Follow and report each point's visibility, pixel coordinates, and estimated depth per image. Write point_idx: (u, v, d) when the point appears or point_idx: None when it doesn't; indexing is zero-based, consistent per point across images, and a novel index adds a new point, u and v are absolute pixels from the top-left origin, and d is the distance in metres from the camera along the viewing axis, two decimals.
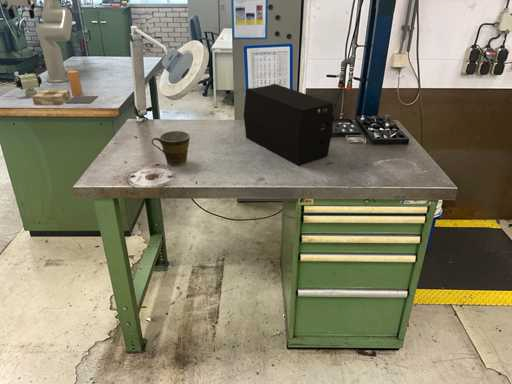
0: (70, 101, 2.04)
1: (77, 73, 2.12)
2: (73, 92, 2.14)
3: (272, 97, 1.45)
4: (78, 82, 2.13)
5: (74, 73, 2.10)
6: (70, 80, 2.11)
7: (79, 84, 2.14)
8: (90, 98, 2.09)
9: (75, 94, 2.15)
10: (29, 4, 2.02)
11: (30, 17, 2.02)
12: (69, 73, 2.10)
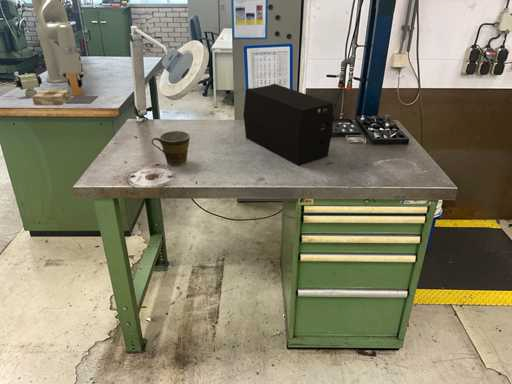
0: (70, 101, 2.04)
1: None
2: (73, 92, 2.14)
3: (272, 97, 1.45)
4: None
5: (74, 73, 2.10)
6: (70, 80, 2.11)
7: None
8: (90, 98, 2.09)
9: (75, 94, 2.15)
10: None
11: None
12: (69, 73, 2.10)
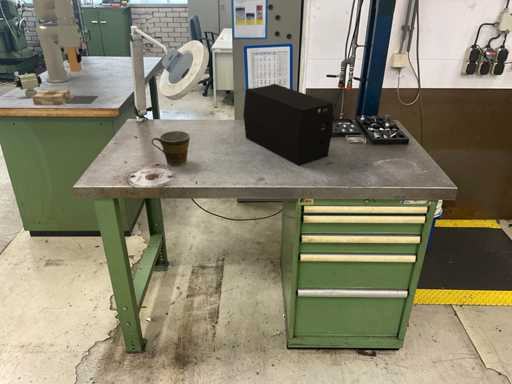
0: (70, 101, 2.04)
1: None
2: (72, 68, 1.99)
3: (272, 97, 1.45)
4: (76, 56, 1.97)
5: (73, 47, 1.94)
6: (68, 54, 1.95)
7: None
8: (90, 98, 2.09)
9: (74, 70, 1.99)
10: (78, 47, 1.97)
11: None
12: (67, 47, 1.94)
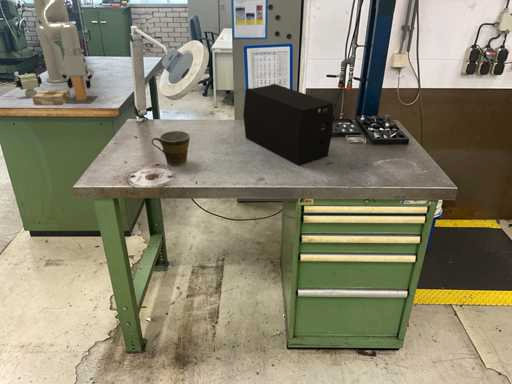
0: (70, 101, 2.04)
1: (82, 77, 2.03)
2: (77, 97, 2.06)
3: (272, 97, 1.45)
4: (82, 86, 2.04)
5: (78, 77, 2.01)
6: (74, 84, 2.02)
7: (84, 88, 2.06)
8: (90, 98, 2.09)
9: (79, 99, 2.06)
10: (86, 74, 2.03)
11: (87, 87, 2.04)
12: (73, 77, 2.01)
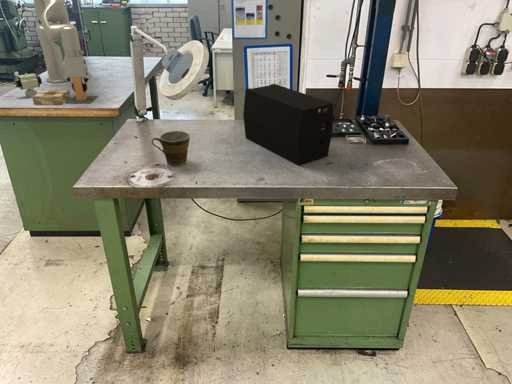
0: (70, 101, 2.04)
1: None
2: (77, 97, 2.06)
3: (272, 97, 1.45)
4: None
5: (79, 77, 2.01)
6: (74, 84, 2.02)
7: None
8: (90, 98, 2.09)
9: (80, 99, 2.06)
10: (84, 77, 2.04)
11: (83, 90, 2.04)
12: (73, 77, 2.01)
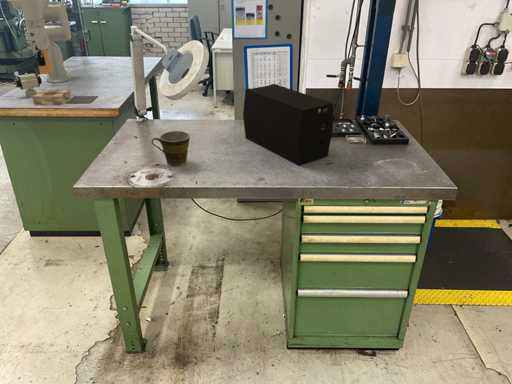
0: (70, 101, 2.04)
1: None
2: None
3: (272, 97, 1.45)
4: None
5: None
6: None
7: None
8: (90, 98, 2.09)
9: None
10: (40, 51, 1.92)
11: None
12: None
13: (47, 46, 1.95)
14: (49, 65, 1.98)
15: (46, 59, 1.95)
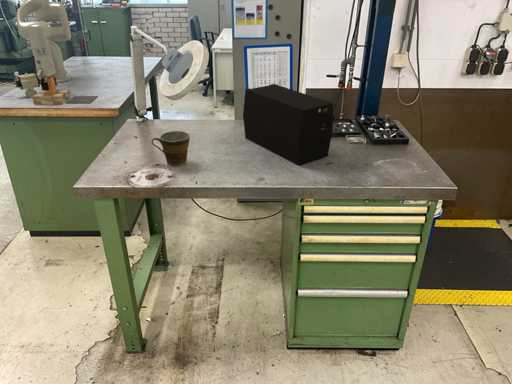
0: (70, 101, 2.04)
1: (47, 80, 1.99)
2: None
3: (272, 97, 1.45)
4: None
5: None
6: None
7: (49, 91, 2.02)
8: (90, 98, 2.09)
9: None
10: None
11: None
12: None
13: (53, 72, 2.01)
14: None
15: (53, 88, 2.02)
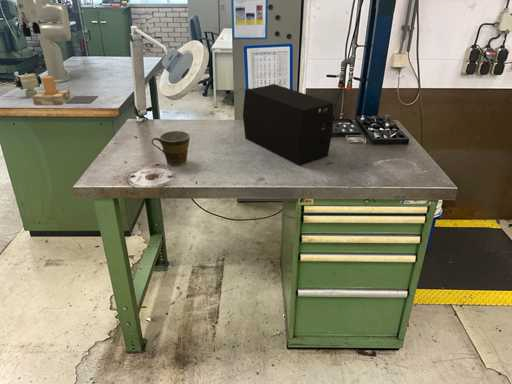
0: (70, 101, 2.04)
1: (47, 80, 1.99)
2: None
3: (272, 97, 1.45)
4: (45, 88, 2.01)
5: None
6: None
7: (49, 91, 2.02)
8: (90, 98, 2.09)
9: None
10: (27, 22, 1.91)
11: None
12: None
13: (36, 19, 1.96)
14: None
15: (53, 88, 2.02)
